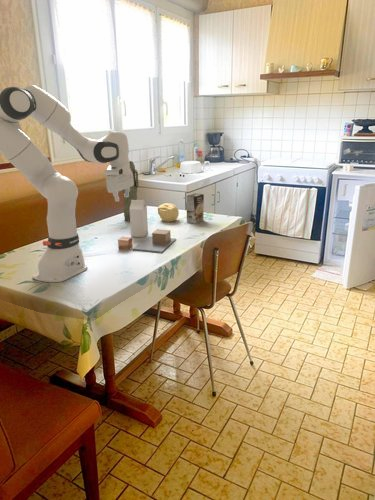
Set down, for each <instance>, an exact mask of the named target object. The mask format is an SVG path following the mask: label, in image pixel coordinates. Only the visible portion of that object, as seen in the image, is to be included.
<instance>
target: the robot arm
mask: <svg viewBox="0 0 375 500" xmlns="http://www.w3.org/2000/svg"><path fill="white" fill-rule="evenodd" d="M28 117H31V118H32V119H34V120H35V121H36V122H38V123H39V124H40V125H42V126H43V127H45V128H46V129H48V130H49V131H51V132H53V133H55V134H56V135H58V136H60V137H61V138H63V139H64V140H65V141H66V142H67V143H68V144H70V145H71V146H73V147H74V148H75V150H76V151H77V152H78V154H79V155H80V156H79V157H81V159H82V160H84V161H85V162H87V163H97V164H106V163H109V165H108V167H107V168H106V169H105V170H104V175H105V183H106V191H107V192H108V194H112V196H113V198H114V201H115V202H117V203H118V202H121V201H120V199H121V197H120V196H119V192H122V190H124V189H125V193H124V195H123V198H124V197H129V191H130V187H131V186H133V185H134V179H133V173H132V171H131V169H130V163H129V161H130V159H129V151H130V149H129V141H128V137H127V135H126V133H125V132H122V131H115V130H110V131H108V132H107V134H106V135H104V136H103V137H102V138H99V139H94V138H90V137H89V138H88V137H86V136H84V135H83V134H82V133H80V131H79V130H77V129H76V127H74V126H73V125H72V123H71V121H72V117H71V112H70V111H69V110H68V109H67V108H66V106H65V105H64V104H62V103H61V101H59V100H58V99H56V97H54V96H53V95H51V94H50V93H48V92H47V91H46V90H44V89H42V88H40V87H38V86H37V85H34V84H31V85H27V86H25V87H23V88H21V87H19V86H17V87H16V86H9V87H6V88H3V89H2V90H0V154H1V155H2V156H3V157H4V158H5V159H6V160H8V162H10V164H11V165H12V166H13V167H14V168H15V169H16V170H17V171H18V172H19V173H21V174H22V175H23V177H24V178H26V180H27V181H28V182H29V183H30V184H31V186H33V188H35V190H37V192H38V193H39V194H41V196H42V197H43V198H45V199H46V201H47V214H46V225H47V231H48V237H47V240H43V241H42V246H44V247H45V246H46V247H47V248H46V249H45V251H44V253H43V255H42V256H41V258H40V259H39V261H38V265H37V269H38V270H37V272H35V273H34V274H33V275H32V278H33V279H34V280H35V281H39V282H45V283H46V282H47V283H60V282H64V281H66V280H68V279H70V278H73V277H74V276H76V275H78V274H80V273H82V272H84V271H86V270H88V266H87V265H86V263H85V258H84V254H83V250H82V248H81V246H80V244H79V243H80V236H79V233H78V229H77V221H76V219H77V218H76V208H77V199H78V196H79V189H78V186H77V185H76V183H75V182H74V181H73V180H72V179H71V178H69V177H67V176H65V175H63V174H62V173H60V172H59V171H58V170H57V169H56V168H55V167H54V165H53V164H52V163H51V161H50V160H49V158H48V157H47V155H46V154H45V153H44V152H43V151H42V150H41V149H40V148H39V147H38V146H37V145H36V144H35V143H34V142H33V140H31V139H30V137H29V136H28V135H27V134H25V132H24V131H23V129H22V127H21V124H20V121H22V120H24V119H26V118H28Z"/></svg>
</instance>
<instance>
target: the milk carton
mask: <svg viewBox="0 0 375 500" xmlns="http://www.w3.org/2000/svg"><path fill="white" fill-rule="evenodd" d="M146 204H147V203H146V202H145V199H137V200H131V205H130V221H129V223H130V234H131V236H130V237H132V238H133V237H135V238H136V237H137V238H144V237H146V236H147V235H148V234H149V228H148V227H149V226H148V225H149V224H148V207H147V206H148V205H146Z"/></svg>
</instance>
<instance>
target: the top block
mask: <svg viewBox="0 0 375 500" xmlns="http://www.w3.org/2000/svg"><path fill="white" fill-rule="evenodd" d="M117 243H118V245H117V247H118V250H121V251H129V250H130V248H131V249H133V248H134V246H133V245H134V244H133V237H132V236H121V237H120V238H118V239H117Z"/></svg>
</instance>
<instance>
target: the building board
mask: <svg viewBox="0 0 375 500" xmlns="http://www.w3.org/2000/svg"><path fill="white" fill-rule="evenodd" d="M176 241H177V238H173V237H171V230H169V229H158V228H157V229H156V230H154V231H153V232H152V233H151V236H149V235H148V236H147V237H146V238H144V239H143V240H141V242H139V243H137V245H135V246H133V247H132V248H131V250H132V251H137V252H147V253H148V252H149V253H157V254H163V253H164V252H165V251H166V250H167V249H168V248H170V246H171V245H172V244H174V242H176Z"/></svg>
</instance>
